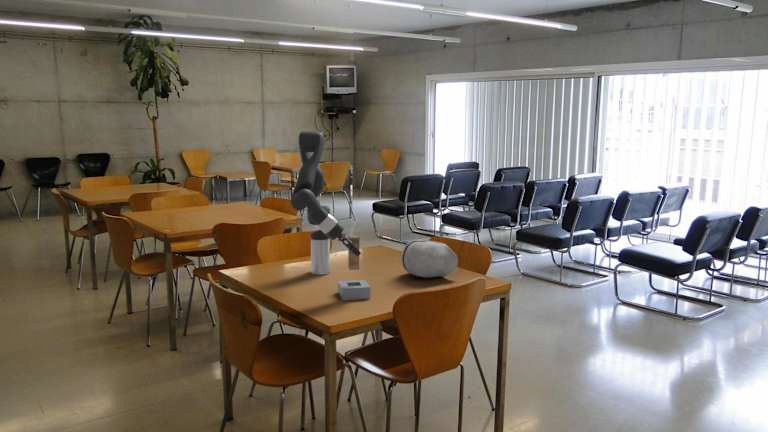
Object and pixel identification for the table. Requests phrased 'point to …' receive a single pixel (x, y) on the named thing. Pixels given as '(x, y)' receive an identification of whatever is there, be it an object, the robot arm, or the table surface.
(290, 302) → the table surface
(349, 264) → the peg
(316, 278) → the table surface
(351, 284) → the socket
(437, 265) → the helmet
